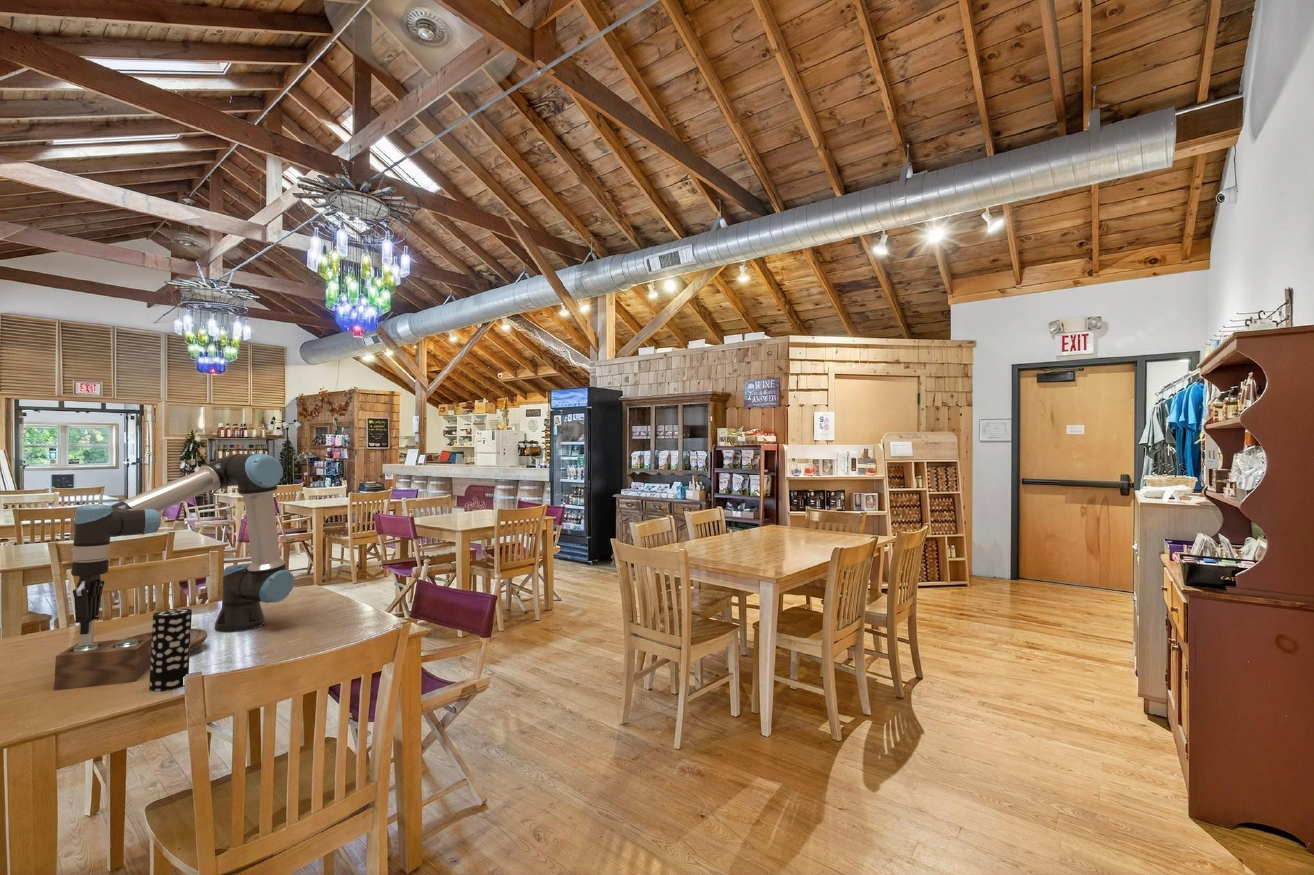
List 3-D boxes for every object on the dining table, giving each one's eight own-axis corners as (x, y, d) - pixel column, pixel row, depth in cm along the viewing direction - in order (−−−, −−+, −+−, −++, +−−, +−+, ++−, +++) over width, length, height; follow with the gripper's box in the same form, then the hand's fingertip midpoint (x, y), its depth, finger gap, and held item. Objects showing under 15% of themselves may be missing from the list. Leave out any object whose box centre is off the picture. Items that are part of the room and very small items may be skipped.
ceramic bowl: (129, 647, 194) (130, 631, 194) (215, 640, 203) (216, 625, 203) (95, 670, 173) (96, 653, 173) (194, 661, 182) (194, 645, 182)
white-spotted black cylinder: (164, 680, 166) (167, 608, 167) (195, 679, 167) (199, 608, 168) (140, 691, 158) (145, 616, 159) (173, 691, 159) (177, 616, 159)
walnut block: (150, 667, 176) (152, 636, 176) (134, 681, 165) (136, 648, 165) (75, 674, 169) (77, 643, 169) (53, 690, 158) (55, 656, 158)
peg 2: (139, 668, 172) (140, 638, 172) (132, 673, 168) (134, 643, 168) (118, 670, 170) (119, 640, 170) (111, 676, 166) (112, 645, 166)
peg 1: (99, 672, 168) (100, 642, 168) (91, 678, 164) (93, 647, 164) (76, 674, 166) (78, 643, 166) (68, 680, 162) (70, 649, 162)
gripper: (84, 557, 171) (79, 639, 170) (61, 564, 159) (56, 653, 158) (117, 555, 174) (112, 636, 173) (97, 563, 162) (92, 650, 161)
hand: (85, 644), depth 165 cm, fingers closed
